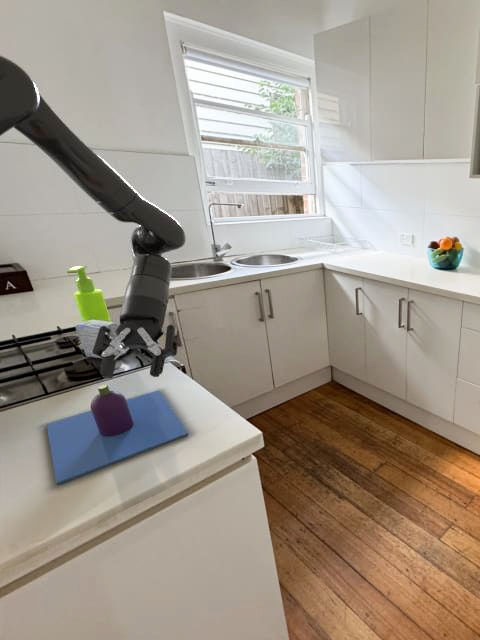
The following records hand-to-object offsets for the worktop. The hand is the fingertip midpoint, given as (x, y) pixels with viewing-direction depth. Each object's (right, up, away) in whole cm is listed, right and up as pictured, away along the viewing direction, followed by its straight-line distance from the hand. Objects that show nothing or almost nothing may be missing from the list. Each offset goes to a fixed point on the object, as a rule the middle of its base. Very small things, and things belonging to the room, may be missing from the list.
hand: (130, 376), depth 74 cm
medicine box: (-23, +3, +23) cm, 33 cm away
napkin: (+1, -9, -4) cm, 10 cm away
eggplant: (+1, -9, -4) cm, 10 cm away
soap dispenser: (-33, +8, +33) cm, 47 cm away
